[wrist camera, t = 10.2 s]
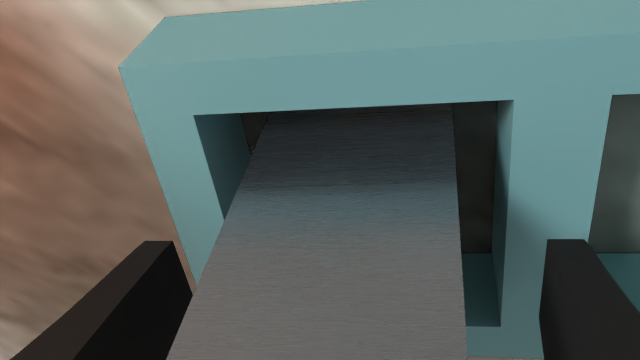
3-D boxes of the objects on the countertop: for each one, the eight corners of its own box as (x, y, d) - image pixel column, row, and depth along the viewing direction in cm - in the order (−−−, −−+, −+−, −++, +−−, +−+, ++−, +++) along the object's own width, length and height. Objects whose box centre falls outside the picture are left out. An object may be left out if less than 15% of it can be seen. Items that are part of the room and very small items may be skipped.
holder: (972, -50, 10) (1101, 2, 8) (811, 285, 15) (870, 369, 13) (164, 17, 13) (118, 66, 11) (242, 280, 18) (218, 348, 16)
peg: (450, 84, 13) (471, 406, 7) (453, 223, 16) (470, 559, 9) (276, 95, 14) (152, 392, 8) (303, 225, 16) (224, 536, 10)
